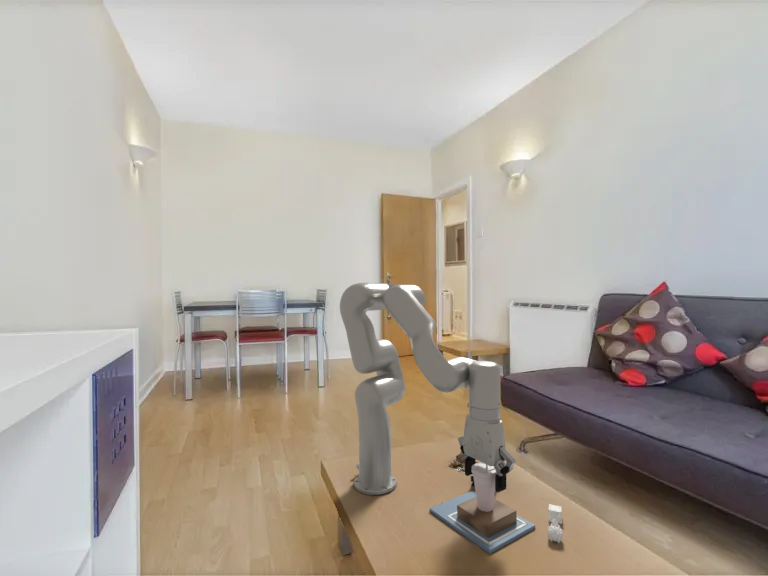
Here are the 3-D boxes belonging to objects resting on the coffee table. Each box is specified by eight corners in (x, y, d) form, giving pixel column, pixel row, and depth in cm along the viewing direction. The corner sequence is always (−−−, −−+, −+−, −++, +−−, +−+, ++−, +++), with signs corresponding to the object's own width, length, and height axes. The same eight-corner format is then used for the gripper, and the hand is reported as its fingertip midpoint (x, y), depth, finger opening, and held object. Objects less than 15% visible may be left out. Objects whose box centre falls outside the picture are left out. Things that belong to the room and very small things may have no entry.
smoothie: (499, 516, 92) (498, 456, 92) (472, 513, 94) (471, 454, 94) (497, 501, 98) (496, 446, 99) (471, 499, 100) (470, 444, 100)
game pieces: (548, 516, 99) (548, 503, 99) (562, 519, 98) (562, 506, 98) (547, 543, 88) (546, 529, 88) (563, 547, 87) (562, 532, 87)
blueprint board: (429, 511, 101) (429, 507, 101) (473, 493, 110) (473, 489, 110) (489, 553, 85) (489, 549, 85) (535, 528, 94) (535, 524, 94)
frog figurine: (447, 456, 136) (447, 445, 136) (483, 460, 132) (483, 449, 133) (442, 471, 125) (442, 459, 125) (480, 475, 122) (480, 463, 122)
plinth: (457, 517, 97) (457, 505, 97) (484, 504, 103) (484, 493, 103) (488, 538, 89) (488, 524, 89) (516, 523, 94) (516, 510, 94)
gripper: (448, 406, 101) (449, 472, 101) (502, 425, 87) (503, 502, 87) (469, 401, 105) (469, 465, 105) (524, 419, 91) (524, 492, 91)
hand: (484, 481), depth 96 cm, fingers open, 9 cm apart
